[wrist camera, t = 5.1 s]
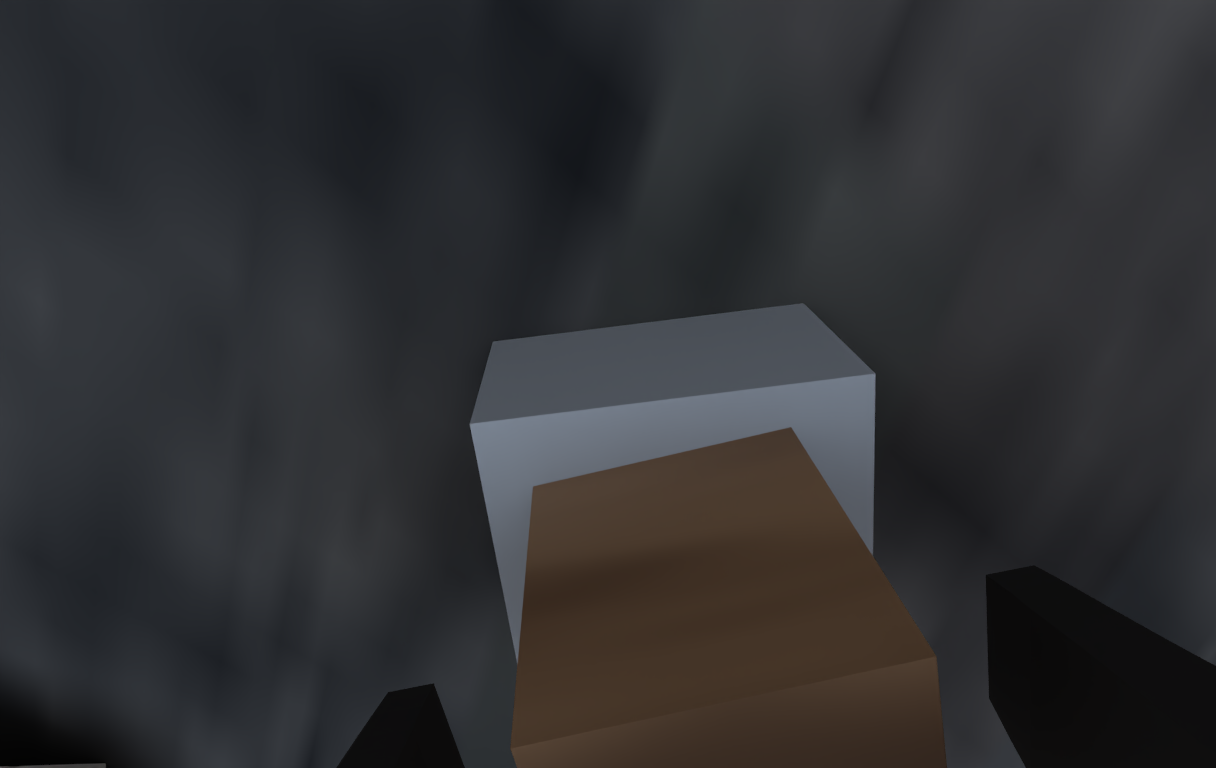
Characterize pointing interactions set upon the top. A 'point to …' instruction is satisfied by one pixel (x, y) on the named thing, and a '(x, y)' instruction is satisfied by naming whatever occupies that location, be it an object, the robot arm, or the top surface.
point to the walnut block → (715, 623)
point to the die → (63, 766)
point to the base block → (665, 410)
